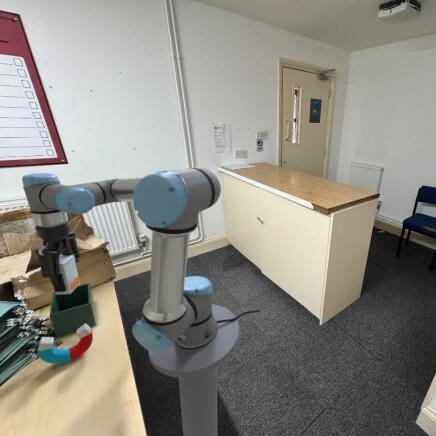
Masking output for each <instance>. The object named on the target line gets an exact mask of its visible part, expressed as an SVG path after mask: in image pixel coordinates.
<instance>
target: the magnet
mask: <svg viewBox="0 0 436 436" xmlns="http://www.w3.org/2000/svg"><path fill="white" fill-rule="evenodd" d="M93 334H94V333H93V330H92V327H89V325H87V324H86V323H85V324H84V325H82V326H81V327H80V328H78V329H77V332H76V337H77V338H79V341H78V342H77V343H76V344H75V345H73V346H70V347H69V348H64V349H63V348H62V349H61V348H57V347H55V346H54V340H55V337H53V336H42V337H41V338H40V340H39V343H38V349H37V354H38V357H39V359H41V360H42V362H45V363H48V364H53V365H54V364H56V365H57V364H63V363H64V364H65V363H68V362H71V361H73V360H75V359H78V358H79V357H81V356H82V355H84V354H85V353H87V351H88V350H89V348H90V347H91V346H92V344H93V339H94V338H93V336H94V335H93Z"/></svg>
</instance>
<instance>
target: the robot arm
mask: <svg viewBox="0 0 436 436" xmlns="http://www.w3.org/2000/svg"><path fill="white" fill-rule="evenodd" d="M21 181H22V186H23V187H22V189H23V190H24V194H25V197H26V200H27V204H28V206H29V210H30V213H31V216H32V221H33V224H34V225H35V227H34V228H35V232H36V236H37V237H38V238H39V239H41V240H42V246H41V248H36V249H35V250H34V252H35V255H36V256H37V258H38V262H39V267H40V272H41V276H42V278H44V279H47V278H48V279H50V283H51V285H52V286H53V290H54V291H55V292H65V291H66V287H65V284H64V280H63V276H62V274H59V263H60V255H74V259H75V263H76V267H77V272H78V276H79V280H80V274H79V269H78V264H77V263H79V262H80V261H81V259H80V258H81V253H80V250H79V247H78V244H77V243H78V242H77V239H76V233H75V232H71V227H70V222H68V221H69V218H68V214H71V215H84V214H87V213H88V212H90V211H91V210H93V208H95V207H99V206H102V205H107V204H113V203H124V202H132V205H133V209H134V211H137V214H136V215H137V217H138V218H139V220H140V221H141V222H142V223H143V224H145V227H146V228H147V229H148V230H149V231H150V232H151V233H152V234H151V254H150V255H151V258H150V280H149V281H150V283H149V299H147V300H146V301H145V303H144V305H143V306H142V317H141V319H139V320H137V321H136V322H135V323H134V324H133V325H132V329H131V330H132V331H131V332H132V335H133V337H134V339H135V340H136V341H137V342H138V343H139V345H141V346H142V347H143V348H144V349H146V350H147V351H148V350H149V351H151V352H154V353H162V352H164V351H166V350H167V349H168V348H169V347H170V346H172V345H173V343H174V342H176V344H177V345H178V346H179V347H181V348H184V349H197V348H200V347H203V346H205V345H207V344H208V343H210V342H211V341H212V340H213V339H214V337H215V336H216V334H217V323H222V322H229V321H234V320H236V319H237V320H238V319H240V318H241V317H243V316H244V315H248V314H253V313H254V314H255V313H260V312H261V310H260V309H254V310H247V311H244V312H242V313H240V314H238V315H237V316H235V318H232V319H225V320H219V321H216V320H215V318H214V315H213V313H212V304H213V287H212V286H213V285H212V282H211V280H210V279H208V278H207V277H205V276H199V275H193V276H192V275H191V276H187V277H186V275H187V266H188V257H189V248H190V247H189V246H190V240H191V239H190V237H191V234H192V233H193V232H194V231H196V229H197V228H198V224H199V215H200V213H201V212H203V211H205V210H207V209H209V208H212V207H213V206H214V205H215V204H217V202H218V200H219V198H220V196H221V191H222V187H221V182H220V180H219V178H218V177H217V175H216V174H215V173H213V172H212V171H211V170H209V169H207V168H204V167H201V166H200V167H199V166H196V167H195V166H194V167H187V168H182V169H180V168H179V169H172V170H161V171H160V170H159V171H157V172H154V173H150V174H147V175H145V176H143V177H132V178H123V177H121V178H111V179H107V180H100V181H91V182H84V183H77V184H71V185H70V184H69V185H65V184H61V181H60V179H59V177H58V176H57V174H55V173H49V172H48V173H47V172H37V173H36V172H35V173H28V174H25V175H23V176H22V177H21Z"/></svg>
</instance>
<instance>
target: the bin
mask: <svg viewBox="0 0 436 436" xmlns="http://www.w3.org/2000/svg"><path fill="white" fill-rule="evenodd" d="M50 302H51V303H50V309H49V316H48V317H49V319H50V322H51V326H52V329H53V332H54V334H55V338H56V339H60V338H63V337H66V336H68V335H71V334H75V333H77V329H78V328H80V327H81V326H82V325H84V324H85V323H86V324H87V325H89V327H90V328H93V327H96V326H97V322H96V310H95V302H94V297H93V291H92V288H91V283H90V282H88V283H83V284H80V285H78V286H77V287H76V288H75V290H74V291H73V292H72V293H71V294H61V295H56V293H55V290H54V291H52V293H51V301H50Z"/></svg>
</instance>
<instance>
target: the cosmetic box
mask: <svg viewBox="0 0 436 436" xmlns="http://www.w3.org/2000/svg"><path fill="white" fill-rule="evenodd" d="M74 255H75V254H74ZM74 255H63V254H60V263H59V274H62V276H63V280H64V284H65V287H66V291H65V292H55V293H56V295H61V294H71V293H72V292H73V291H74V290H75V288H76V287H77V286H79V285H81V281H80V279H79V278H80V275H79V276H78V273H79V271H78V272H77V269H78V268H77V267H78V266H77V267H76V263H77V262H76V263H75V259H74Z"/></svg>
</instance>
